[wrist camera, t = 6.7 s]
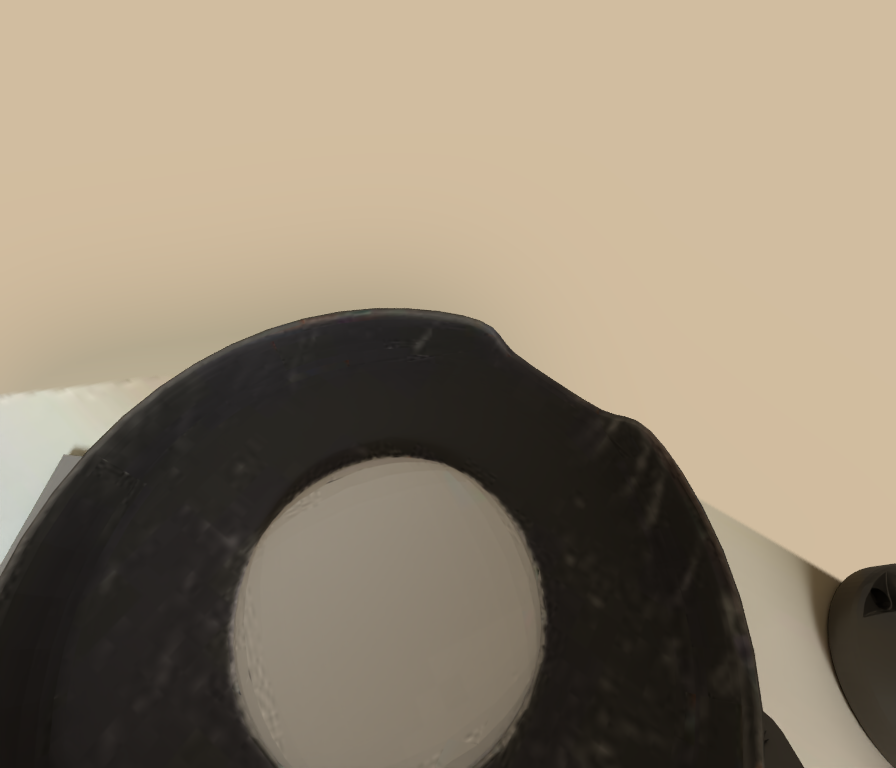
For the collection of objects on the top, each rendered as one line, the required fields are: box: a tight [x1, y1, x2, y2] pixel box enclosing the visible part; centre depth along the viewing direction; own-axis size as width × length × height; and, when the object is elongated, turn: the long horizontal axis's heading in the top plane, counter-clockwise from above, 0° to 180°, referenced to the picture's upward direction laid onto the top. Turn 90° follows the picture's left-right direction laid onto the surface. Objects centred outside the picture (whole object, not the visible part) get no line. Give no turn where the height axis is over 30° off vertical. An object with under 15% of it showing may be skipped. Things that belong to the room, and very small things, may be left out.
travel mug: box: [0, 308, 765, 768], centre depth 13 cm, size 8×8×20 cm
